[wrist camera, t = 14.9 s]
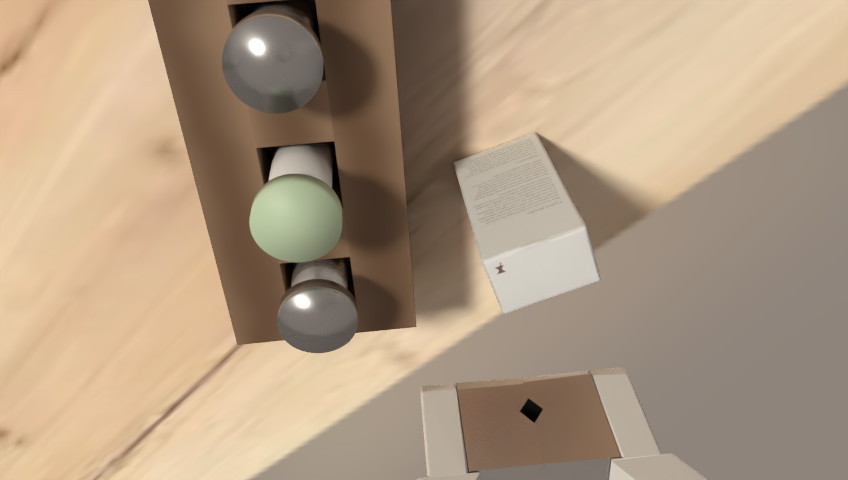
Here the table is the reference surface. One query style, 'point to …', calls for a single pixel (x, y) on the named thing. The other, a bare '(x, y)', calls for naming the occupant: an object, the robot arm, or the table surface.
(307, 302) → the plug
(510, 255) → the skincare box
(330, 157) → the plug mid
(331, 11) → the block
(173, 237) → the table surface
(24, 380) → the table surface
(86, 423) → the table surface
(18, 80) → the table surface
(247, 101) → the plug
